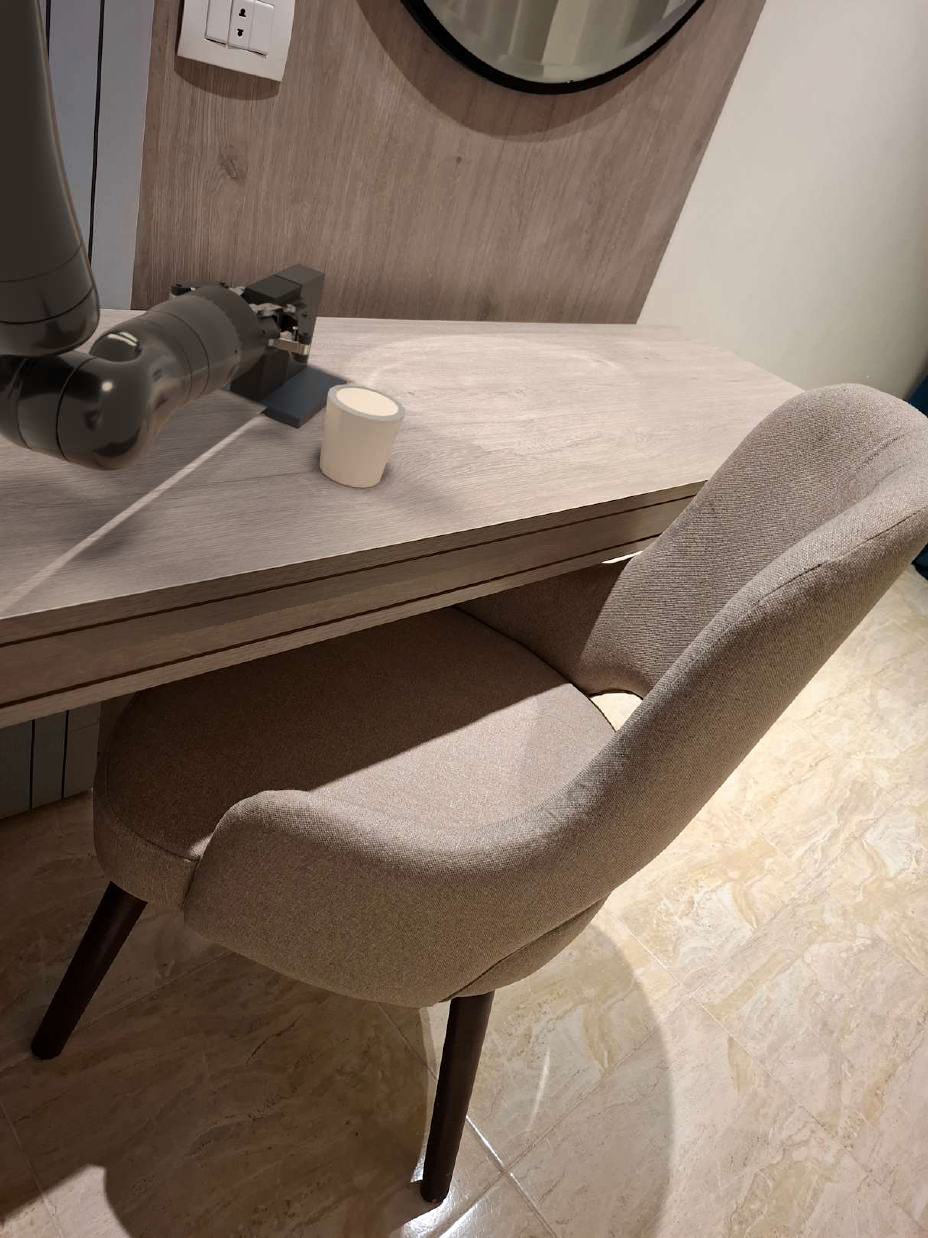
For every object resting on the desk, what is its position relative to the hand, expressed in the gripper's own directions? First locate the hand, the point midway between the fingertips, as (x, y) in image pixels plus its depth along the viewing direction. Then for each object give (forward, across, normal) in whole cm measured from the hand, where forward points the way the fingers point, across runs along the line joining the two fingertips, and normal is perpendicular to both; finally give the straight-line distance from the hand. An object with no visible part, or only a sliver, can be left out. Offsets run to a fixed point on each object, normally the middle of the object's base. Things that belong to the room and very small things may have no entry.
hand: (283, 301), depth 86 cm
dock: (+1, 0, +9) cm, 9 cm away
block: (-3, 0, +8) cm, 8 cm away
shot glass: (-10, -13, +9) cm, 19 cm away
